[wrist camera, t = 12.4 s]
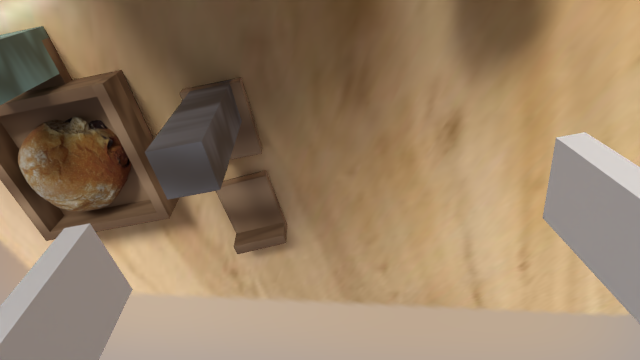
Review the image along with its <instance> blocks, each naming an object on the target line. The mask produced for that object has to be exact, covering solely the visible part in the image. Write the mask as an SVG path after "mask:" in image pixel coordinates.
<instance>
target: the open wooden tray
mask: <svg viewBox="0 0 640 360" xmlns="http://www.w3.org/2000/svg"><path fill="white" fill-rule="evenodd" d="M73 117H79V118H81V119H82V120H84V121H86V122H87V123H88V125H89V123H90V122H91V121H95V120H101V121H102V122H103V123H104V125H105V126H106V127H107V128H108V129H110V130H112V131H113V132H114V133H115V135H116V136H117V137H118V138H119V140H120V142H121V144H122V146H123V148H124V150H125V152H126V154H127V156H128V158H129V160H130V162H131V164H132V166H131V170H130V172H129V174H128V178H127V179H128V180H127V181H126V183H125V185H124V186H123V188H122V189H121V191H120V193H119V195H118V196H117V197H116V198H115V200H114V201H113V202H112V203H111V204H109V205H107V206H105V207H102V208H99V209H94V210H88V211H68V210H65V209H62V208H59V207H57V206H55V205H53V204H52V203H50V202H49V201H47V200H46V199H44V198H43V197H41V196H40V195H39V194H37V193H36V192H35V190H33V189H32V188H31V186H30V185H29V184H28V182H27V181H26V179H25V177H24V176H23V174H22V172H21V169H20V167H19V164H18V153H19V149H20V147H21V145H22V143H23V141H24V139H25V138H26V137H27V136H28V135H29V134H30V133H31V132H32V131H33V130H34V129H35V128H37V127H38V126H39V125H40V124H42V123H43V122H48V121H50V120H61V121H66V120H68V119H70V118H73ZM64 138H65V137H64ZM152 141H153V137H152V135H151V133H150V131H149V129H148V127H147V124H146V122H145V120H144V118H143V116H142V114H141V111H140V109H139V107H138V105H137V103H136V101H135V99H134V96H133V94H132V92H131V90H130V88H129V86H128V83H127V81H126V79H125V77H124V75H123V73H122V70H119V71H115V72H110V73H105V74H100V75H95V76H90V77H85V78H80V79H75V80H72V79H71V77H70V76H69V74H68V72H67V70H66V68H65V66H64V64H63V63H62V61H61V59H60V57H59V55H58V53H57V52H56V50H55V48H54V46H53V44H52V42H51V40H50V39H49V37H48V35H47V33H46V31H45V29H44V27H43V26H41V27H36V28H32V29H27V30H22V31H17V32H13V33H8V34H3V35H0V180H1V181H2V182H3V184H4V185H5V186H6V188H7V189H8V190H9V192H10V193H11V194H12V196H13V197H14V198H15V200H16V201H17V202H18V204H19V205H20V206H21V208H22V209H23V210H24V212H25V213H26V214H27V216H28V217H29V218H30V220H31V221H32V222H33V224H34V225H35V226H36V228H37V229H38V230H39V232H40V233H41V234H42V236H43V237H44V238H45V240H46V241H48V240H53V239H56V238H57V237H58V235H59V234H60V233H61V232H62V230H63V229H64V228H68V227H73V226H79V225H84V224H89V223H90V224H91V226H92V227H93V229H94V230H95V232H97V231H102V230H108V229H113V228H119V227H124V226H130V225H135V224H141V223H146V222H152V221H157V220H163V219H168V218H170V216H171V214H172V212H173V210H174V208H175V205H176V203H177V201H178V199H179V198H174V199H168V200H167V198H166V195H165V193H164V191H163V189H162V187H161V185H160V183H159V181H158V179H157V177H156V175H155V173H154V171H153V169H152V167H151V165H150V163H149V160H148V158H147V156H146V154H145V151H146V150H147V148H148V147H149V145H150V144H151V143H152Z"/></svg>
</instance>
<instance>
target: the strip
mask: <svg viewBox="0 0 640 360" xmlns="http://www.w3.org/2000/svg"><path fill="white" fill-rule="evenodd" d="M216 193H217V195H218V197H219V199H220V201H221V203H222V205H223V207H224V209H225V211H226V213H227V215H228V217H229V219H230V221H231V223H232V225H233V227H234V230H235V232H236V238H235V243H234V248H235V250H236V252H237V254H241V253H245V252H249V251H254V250H258V249H262V248H266V247H271V246H275V245H279V244H284V243H286V233H287V223H286V220H285V218H284V215H283V213H282V210H281V207H280V205H279V202H278V200H277V197H276V194H275V192H274V189H273V187H272V184H271V182H270V179H269V176H268V174H267V171H262V172H258V173H254V174H250V175H246V176H242V177H238V178H235V179H231V180H227V181H223V183H222V186H221V189H220V190H217V191H216Z"/></svg>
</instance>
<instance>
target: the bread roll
mask: <svg viewBox="0 0 640 360" xmlns="http://www.w3.org/2000/svg"><path fill="white" fill-rule="evenodd" d="M64 137H65V138H64ZM18 164H19V167H20V169H21V172H22V174H23V176H24V177H25V179H26V181H27V182H28V184H29V185H30V186H31V188H32V189H33V190H35V192H36V193H37V194H39V195H40V196H41V197H43V198H44V199H46V200H47V201H49V202H50V203H52V204H53V205H55V206H57V207H59V208H62V209H65V210H68V211H88V210H94V209H99V208H102V207H105V206H107V205H109V204H111V203H112V202H113V201H114V200H115V198H116V197H117V196H118V195H119V193H120V191H121V189H122V188H123V186H124V185H125V183H126V181H127V180H128V179H127V178H128V174H129V172H130V170H131V166H132V164H131V162H130V160H129V158H128V156H127V154H126V152H125V150H124V148H123V146H122V144H121V142H120V140H119V138H118V137H117V136H116V135H115V133H114V132H113V131H112V130H110V129H108V128H107V127H106V126H105V125H104V123H103V122H102V121H101V120H95V121H91V122H90V123H89V125H88V123H87V122H86V121H84V120H82V119H81V118H79V117H73V118H70V119H68V120H66V121H61V120H50V121H48V122H43V123H42V124H40V125H39V126H38V127H37V128H35V129H34V130H33V131H32V132H31V133H30V134H29V135H28V136H27V137H26V138H25V139H24V141H23V143H22V145H21V147H20V149H19V153H18Z"/></svg>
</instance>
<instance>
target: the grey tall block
mask: <svg viewBox="0 0 640 360" xmlns="http://www.w3.org/2000/svg"><path fill="white" fill-rule="evenodd" d="M180 95H181V98H182V102H181V104H180V105H179V106H178V108H177V109H176V110H175V112H174V113H173V114H172V116H171V117H170V118H169V120H168V121H167V122H166V124H165V125H164V127H163V128H162V129H161V131H160V132H159V133H158V135H157V136H156V137H155V139H154V140H153V141H152V143H151V144H150V145H149V147H148V148H147V150H146V151H145V154H146V156H147V158H148V160H149V163H150V165H151V167H152V169H153V171H154V173H155V175H156V177H157V179H158V181H159V183H160V185H161V187H162V189H163V191H164V193H165V195H166V198H167V200H168V199H174V198H179V197H184V196H190V195H195V194H201V193H206V192H211V191H217V190H220V189H221V186H222V183H223V180H224V176H225V173H226V170H227V167H228V164H229V160H230V159H235V158H241V157H246V156H251V155H257V154H261V153H262V146H261V142H260V139H259V136H258V132H257V129H256V125H255V122H254V119H253V115H252V112H251V109H250V105H249V102H248V98H247V95H246V92H245V88H244V85H243V82H242V78H237V79H232V80H227V81H222V82H217V83H212V84H207V85H202V86H197V87H192V88H187V89H183V90H182V91H181V92H180Z"/></svg>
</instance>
